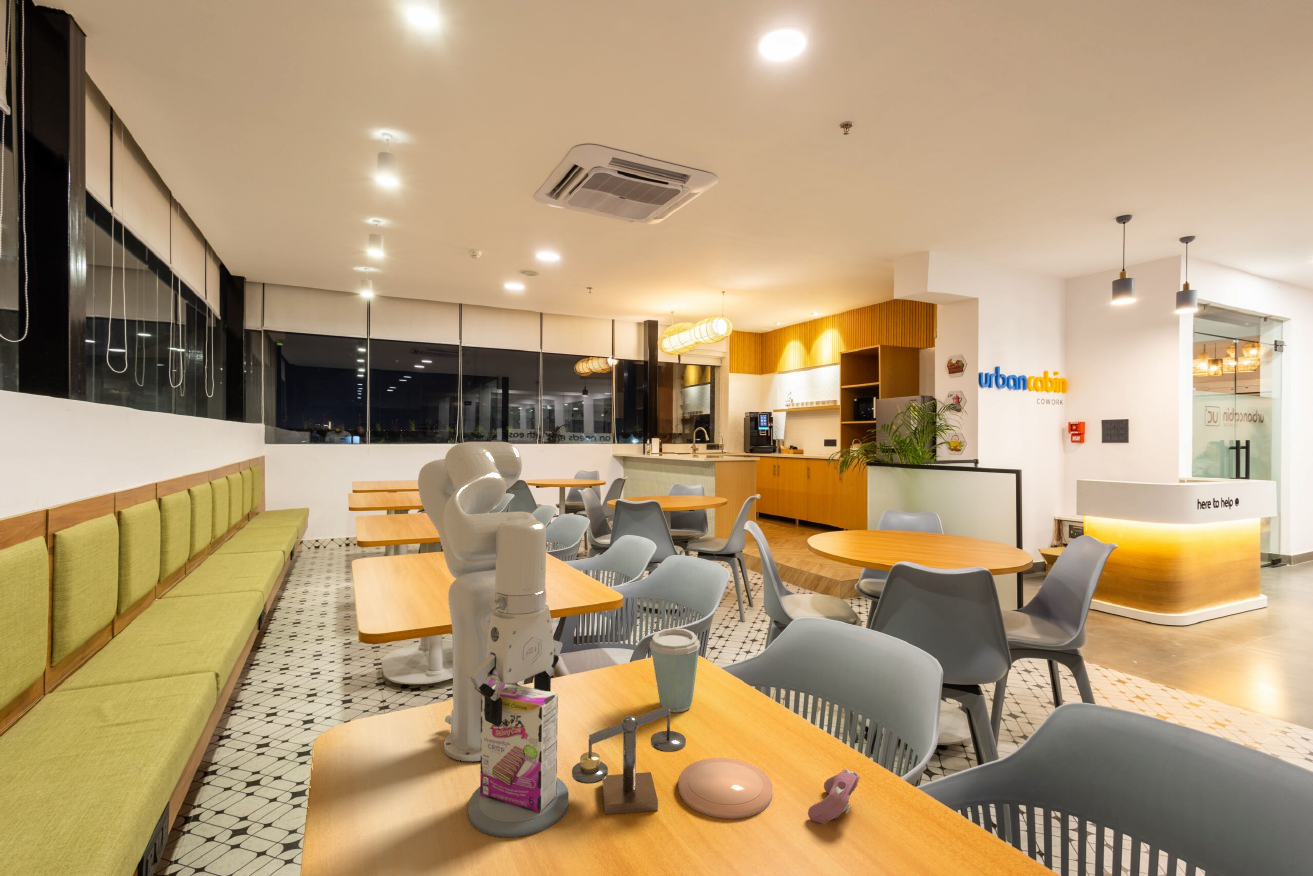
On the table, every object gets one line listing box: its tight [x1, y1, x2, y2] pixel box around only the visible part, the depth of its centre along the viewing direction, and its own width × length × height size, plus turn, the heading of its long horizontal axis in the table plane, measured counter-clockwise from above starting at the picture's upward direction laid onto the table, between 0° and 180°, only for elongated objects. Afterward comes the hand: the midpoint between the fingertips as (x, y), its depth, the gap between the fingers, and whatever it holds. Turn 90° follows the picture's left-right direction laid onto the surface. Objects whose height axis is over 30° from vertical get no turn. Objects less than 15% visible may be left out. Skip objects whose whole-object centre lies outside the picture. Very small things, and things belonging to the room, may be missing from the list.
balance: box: [571, 705, 687, 816], centre depth 98 cm, size 18×8×14 cm, turn 98°
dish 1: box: [467, 777, 570, 839], centre depth 95 cm, size 15×15×1 cm
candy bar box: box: [479, 683, 559, 813], centre depth 95 cm, size 11×5×16 cm, turn 68°
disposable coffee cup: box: [649, 627, 701, 713], centre depth 130 cm, size 11×11×15 cm
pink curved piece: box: [807, 768, 861, 824], centre depth 95 cm, size 10×5×7 cm, turn 149°
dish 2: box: [678, 757, 773, 820], centre depth 100 cm, size 15×15×1 cm
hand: (518, 710), depth 96 cm, fingers open, 9 cm apart
